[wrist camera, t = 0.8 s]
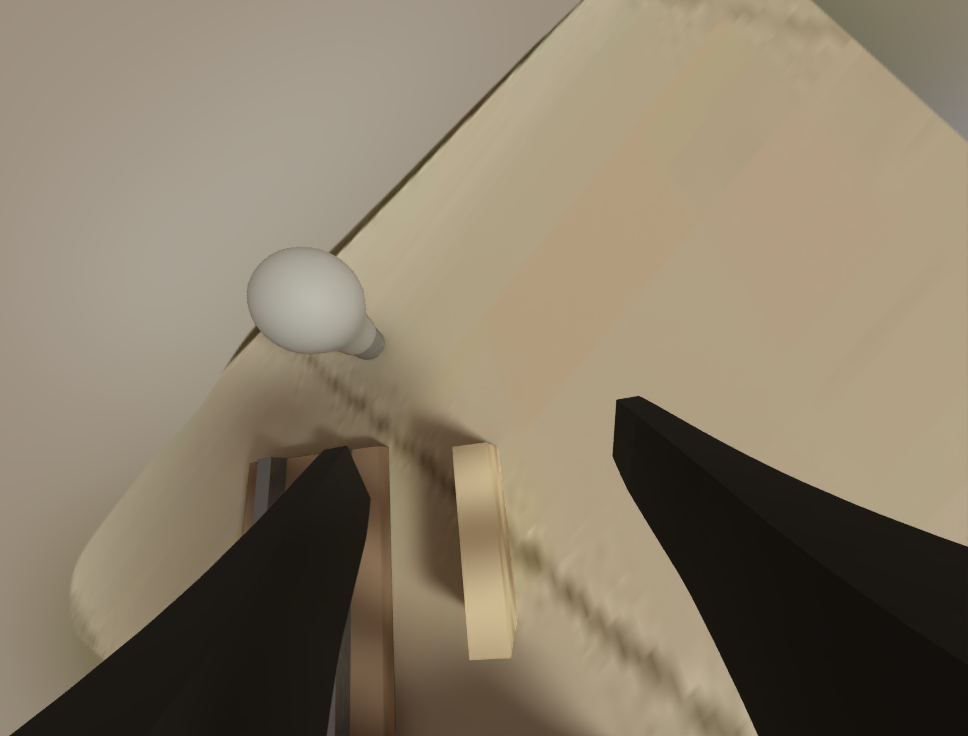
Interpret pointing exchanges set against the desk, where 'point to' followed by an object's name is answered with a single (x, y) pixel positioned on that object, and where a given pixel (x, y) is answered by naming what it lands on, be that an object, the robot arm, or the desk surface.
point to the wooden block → (485, 552)
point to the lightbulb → (312, 304)
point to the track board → (369, 627)
